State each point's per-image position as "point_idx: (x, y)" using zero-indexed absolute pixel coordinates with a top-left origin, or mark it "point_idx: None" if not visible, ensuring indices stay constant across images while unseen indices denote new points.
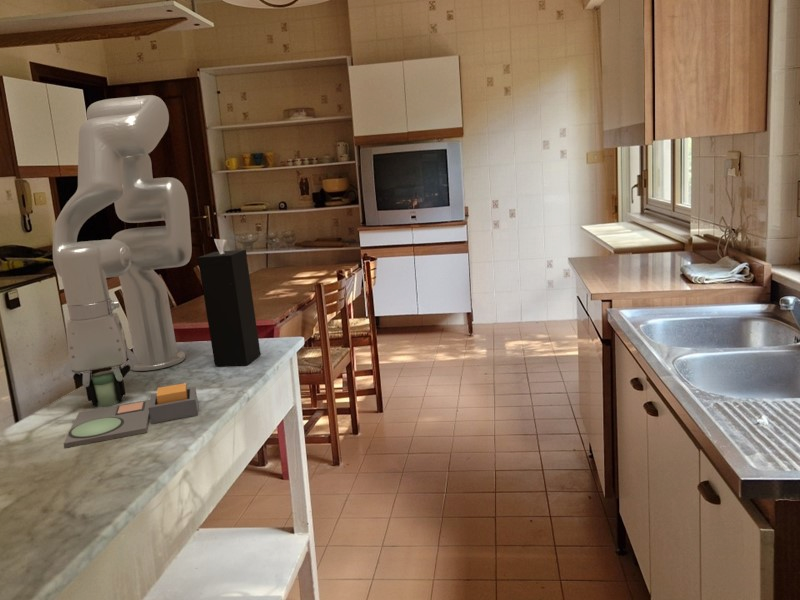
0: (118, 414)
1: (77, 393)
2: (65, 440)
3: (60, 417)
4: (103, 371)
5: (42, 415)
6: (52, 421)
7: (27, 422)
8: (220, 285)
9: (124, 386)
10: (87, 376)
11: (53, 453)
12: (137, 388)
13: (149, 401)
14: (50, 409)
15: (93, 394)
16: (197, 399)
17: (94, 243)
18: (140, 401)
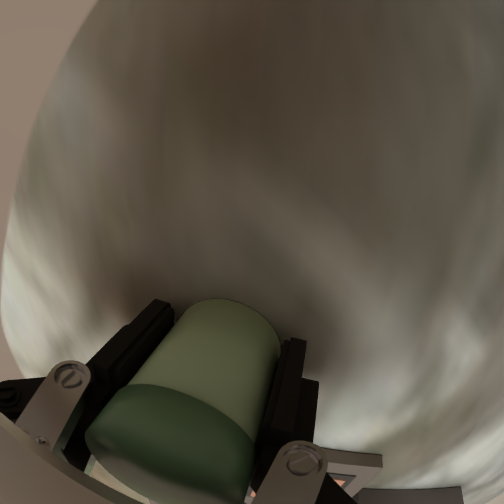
0: (253, 496)
1: (88, 34)
2: (149, 499)
3: (74, 345)
4: (148, 445)
5: (20, 271)
6: (65, 359)
7: (10, 302)
8: None
9: (314, 411)
10: (79, 467)
11: (141, 495)
12: (421, 191)
13: (366, 478)
14: (22, 219)
15: None
16: (461, 491)
17: None
18: (343, 466)
